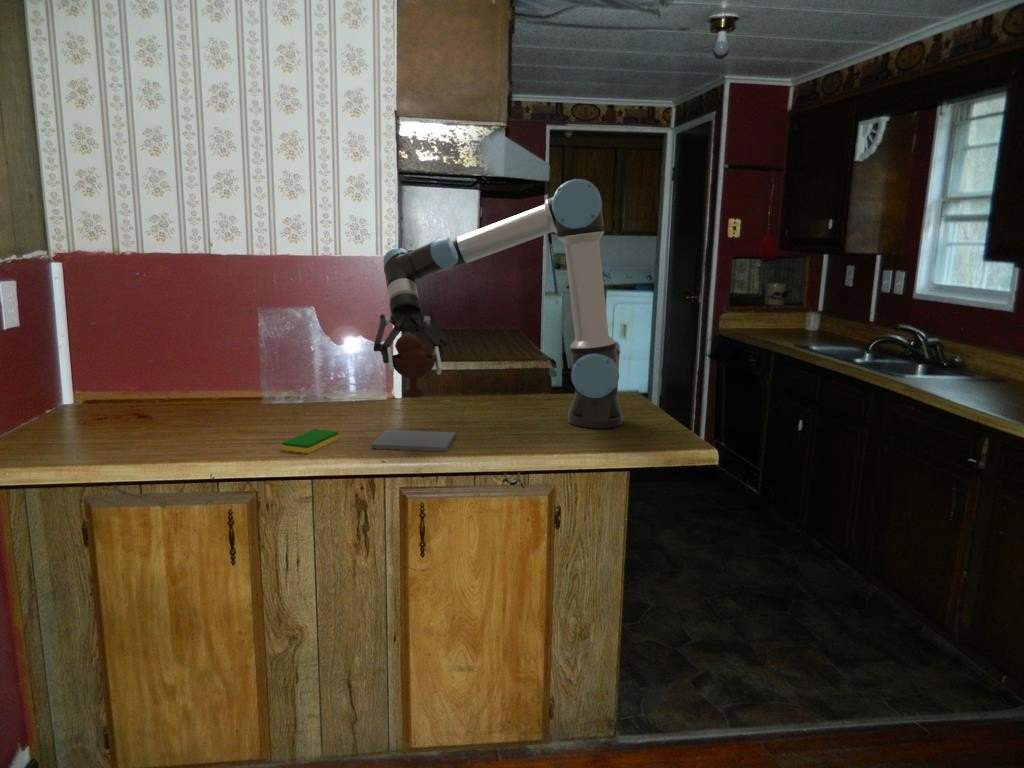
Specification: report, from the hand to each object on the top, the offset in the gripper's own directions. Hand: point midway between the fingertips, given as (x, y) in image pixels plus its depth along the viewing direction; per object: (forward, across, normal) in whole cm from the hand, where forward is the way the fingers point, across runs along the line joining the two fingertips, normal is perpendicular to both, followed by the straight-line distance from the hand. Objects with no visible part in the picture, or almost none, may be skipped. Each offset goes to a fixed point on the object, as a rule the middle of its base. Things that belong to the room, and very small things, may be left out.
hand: (415, 372), depth 178 cm
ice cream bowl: (+2, 0, -7) cm, 7 cm away
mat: (+11, 0, -15) cm, 18 cm away
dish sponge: (+9, +24, -18) cm, 31 cm away
